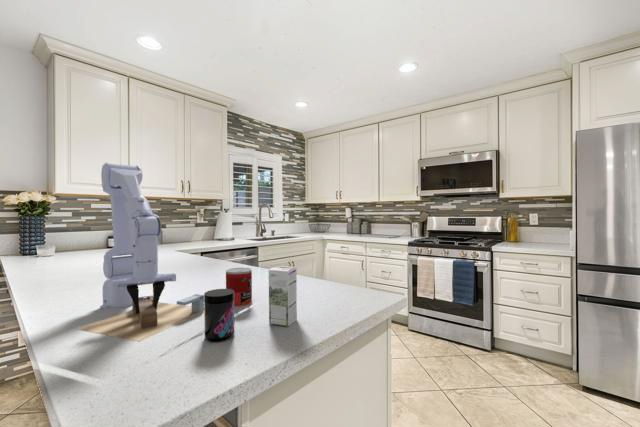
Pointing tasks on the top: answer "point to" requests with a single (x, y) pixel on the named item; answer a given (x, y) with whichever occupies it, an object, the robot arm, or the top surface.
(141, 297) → the post
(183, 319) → the board
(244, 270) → the canned food
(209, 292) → the supplement container
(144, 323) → the link
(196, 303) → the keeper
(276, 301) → the syrup box
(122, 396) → the top surface
